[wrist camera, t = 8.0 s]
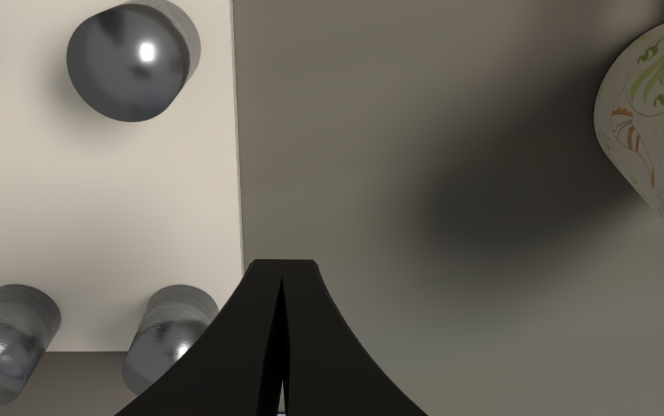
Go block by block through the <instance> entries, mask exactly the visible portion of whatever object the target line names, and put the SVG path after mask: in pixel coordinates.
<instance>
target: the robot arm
mask: <svg viewBox="0 0 664 416" xmlns="http://www.w3.org/2000/svg"><path fill="white" fill-rule="evenodd" d="M282 380H283V389H284V403H285V414H278V408H279V401H280V394H281V387H282ZM114 416H428V415H427V414H426V413H425V412H424V411H422V410H421V409H420V408H419V407H418V406H417V405H416V404H415V403H414V402H413V401H411V400H410V399H409V398H408V397H407V396H406V395H405V394H404V393H403V392H402V391H401V390H400V389H399V388H398V387H397V386H396V385H395V384H394V383H393V382H392V381H391V379H390V378H389V377H388V376H387V375H386V374H385V373H384V372H383V371H382V369H381V368H380V367H379V366H378V365H377V364H376V363H375V361H374V360H373V359H372V358H371V356H370V355H369V354H368V353H367V351H366V350H365V349H364V347H363V346H362V345H361V343H360V342H359V340H358V339H357V338H356V336H355V335H354V333H353V332H352V331H351V329H350V328H349V326H348V325H347V323H346V321H345V320H344V318H343V317H342V315H341V313H340V312H339V310H338V308H337V307H336V305H335V303H334V301H333V299H332V298H331V296H330V294H329V292H328V290H327V288H326V286H325V284H324V281H323V279H322V277H321V274H320V271H319V268H318V264H317V263H316V262H315V261H314V260H285V259H255V260H254V261H253V262H252V263H250V265H249V267H248V269H247V271H246V273H245V274H244V276H243V278H242V279H241V281H240V283H239V284H238V286H237V287H236V289H235V290H234V292H233V294H232V295H231V296H230V298H229V299H228V301H227V302H226V303H225V305H224V306H223V307H222V309H221V310H220V312H219V313H218V314H217V316H216V317H215V318H214V320H213V321H212V322H211V323H210V324H209V326H208V327H207V328H206V329H205V330H204V332H203V333H202V334H201V335H200V336H199V338H198V339H197V340H196V341H195V342H194V343H193V345H192V346H191V347H190V348H189V349H188V350H187V351H186V352H185V353H184V354H183V355H182V356H181V357H180V358H179V359H178V360H177V361H176V362H175V363H174V364H173V365H172V366H171V367H170V368H169V369H168V370H167V371H166V372H165V373H164V374H163V375H162V376H161V377H160V378H159V379H158V380H156V381H155V382H154V383H153V384H152V385H151V386H150V387H148V388H147V389H146V390H145V391H144V392H143V393H142V394H140V395H139V396H138V397H137V398H136V399H135V400H133V401H132V402H131V403H130V404H128V405H127V406H126V407H125V408H123V409H122V410H121V411H120V412H118V413H117V414H115V415H114Z"/></svg>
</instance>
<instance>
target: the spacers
mask: <svg viewBox="0 0 664 416" xmlns="http://www.w3.org/2000/svg"><path fill="white" fill-rule="evenodd" d="M200 56H201V43H200V38H199V34H198V32H197V29H196V27H195V25H194V23H193V22H192V20H191V19H190V17H189V16H188V15H187V14H186V13H185V12H184V11H183V10H182V9H181V8H180V7H178V6H177V5H175V4H174V3H172V2H170V1H168V0H129V1H127V2H124V3H122V4H119V5H117V6H115V7H112V8H110V9H107V10H105V11H103V12H100V13H98V14H95V15H93V16H91V17H89V18H87V19H86V20H85V21H83V22H82V23H81V24H80V25H79V26H78V27H77V28H76V30H75V31H74V32H73V34H72V36H71V38H70V40H69V43H68V47H67V53H66V63H67V69H68V73H69V77H70V79H71V82H72V84H73V86H74V88H75V89H76V91H77V92H78V94H79V95H80V97H81V98H82V99H83V100H84V101H85V102H86V103H87V104H88V105H89V106H90V107H92V108H93V109H94V110H95V111H97V112H99V113H100V114H102V115H104V116H106V117H108V118H111V119H114V120H117V121H122V122H141V121H146V120H149V119H152V118H154V117H156V116H158V115H159V114H161V113H163V112H164V111H165V110H166V109H167V108H168V107H169V106H170V104H171V103H172V102H173V101H174V99H175V98H176V96H177V95H178V94H179V92H180V91H181V90H182V88H183V87H184V86H185V84H186V83H187V82H188V80H189V79H190V78H191V76H192V75H193V74H194V72H195V70H196V69H197V66H198V64H199V61H200ZM218 313H219V309H218V306H217V304H216V302H215V301H214V299H213V298H212V297H211V296H210V295H209V294H208V293H206V292H205V291H203V290H201V289H199V288H197V287H194V286H190V285H183V284H178V285H170V286H167V287H164V288H162V289H160V290H158V291H157V292H156V293H155V294H154V295H153V296H152V297H151V298H150V300H149V302H148V304H147V307H146V309H145V312H144V314H143V317H142V319H141V321H140V324H139V326H138V329H137V331H136V334H135V336H134V338H133V341H132V343H131V346H130V348H129V351H128V353H127V355H126V358H125V360H124V363H123V367H122V375H123V378H124V381H125V383H126V384H127V386H128V387H129V388H130V390H131V391H132V392H134V393H135V394H136V395H138V396H139V395H140V394H142V393H143V392H144V391H145V390H146V389H147V388H148V387H150V386H151V385H152V384H153V383H154V382H155V381H156V380H158V379H159V378H160V377H161V376H162V375H163V374H164V373H165V372H166V371H167V370H168V369H169V368H170V367H171V366H172V365H173V364H174V363H175V362H176V361H177V360H178V359H179V358H180V357H181V356H182V355H183V354H184V353H185V352H186V351H187V350H188V349H189V348H190V347H191V346H192V345H193V343H194V342H195V341H196V340H197V339H198V338H199V336H200V335H201V334H202V333H203V332H204V330H205V329H206V328H207V327H208V326H209V324H210V323H211V322H212V321H213V320H214V318H215V317H216V316H217V314H218ZM60 325H61V313H60V310H59V308H58V306H57V305H56V303H55V302H54V301H53V300H52V299H51V298H50V297H49V296H48V295H47V294H45V293H44V292H42V291H41V290H39V289H36V288H34V287H31V286H27V285H22V284H8V285H4V286H1V287H0V405H3V404H6V403H8V402H10V401H12V400H14V399H15V398H16V397H17V396H18V395H19V394H20V392H21V391H22V389H23V387H24V386H25V384H26V382H27V381H28V379H29V377H30V376H31V374H32V372H33V371H34V369H35V368H36V366H37V364H38V363H39V361H40V359H41V358H42V356H43V354H44V353H45V351H46V349H47V348H48V346H49V344H50V343H51V341H52V340H53V338H54V336H55V335H56V333H57V331H58V330H59V328H60Z"/></svg>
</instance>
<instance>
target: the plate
mask: <svg viewBox="0 0 664 416" xmlns="http://www.w3.org/2000/svg"><path fill="white" fill-rule="evenodd" d="M127 1H129V0H0V287H1V286H4V285H8V284H22V285H27V286H31V287H34V288H36V289H39V290H41V291H42V292H44V293H45V294H47V295H48V296H49V297H50V298H51V299H52V300H53V301H54V302H55V303H56V305H57V306H58V308H59V310H60V313H61V325H60V328H59V330H58V331H57V333H56V335H55V336H54V338H53V340H52V341H51V343H50V344H49V346H48V348H47V349H46V351H45V352H47V351H129V348H130V346H131V343H132V341H133V338H134V336H135V334H136V331H137V329H138V326H139V324H140V321H141V319H142V317H143V314H144V312H145V309H146V307H147V304H148V302H149V300H150V298H151V297H152V296H153V295H154V294H155V293H156V292H157V291H158V290H160V289H162V288H164V287H167V286H170V285H178V284H183V285H190V286H194V287H197V288H199V289H201V290H203V291H205V292H206V293H208V294H209V295H210V296H211V297H212V298H213V299H214V301H215V302H216V304H217V306H218V309H219V312H220V310H221V309H222V307H223V306H224V305H225V303H226V302H227V301H228V299H229V298H230V296H231V295H232V294H233V292H234V290H235V289H236V287H237V286H238V284H239V283H240V281H241V279H242V278H243V276H244V262H243V239H242V215H241V192H240V169H239V145H238V122H237V98H236V75H235V51H234V28H233V4H232V0H168V1H170V2H172V3H174V4H175V5H177V6H178V7H180V8H181V9H182V10H183V11H184V12H185V13H186V14H187V15H188V16H189V17H190V19H191V20H192V22H193V23H194V25H195V27H196V29H197V32H198V34H199V38H200V43H201V56H200V61H199V64H198V66H197V69H196V70H195V72H194V74H193V75H192V76H191V78H190V79H189V80H188V82H187V83H186V84H185V86H184V87H183V88H182V90H181V91H180V92H179V94H178V95H177V96H176V98H175V99H174V101H173V102H172V103H171V104H170V106H169V107H168V108H167V109H166V110H165V111H164V112H163V113H161V114H159V115H158V116H156V117H154V118H152V119H149V120H146V121H141V122H122V121H117V120H114V119H111V118H108V117H106V116H104V115H102V114H100V113H99V112H97V111H95V110H94V109H93V108H92V107H90V106H89V105H88V104H87V103H86V102H85V101H84V100H83V99H82V98H81V97H80V95H79V94H78V92H77V91H76V89H75V88H74V86H73V84H72V82H71V79H70V77H69V73H68V69H67V63H66V53H67V47H68V43H69V40H70V38H71V36H72V34H73V32H74V31H75V30H76V28H77V27H78V26H79V25H80V24H81V23H82V22H83V21H85V20H86V19H87V18H89V17H91V16H93V15H95V14H98V13H100V12H103V11H105V10H107V9H110V8H112V7H115V6H117V5H119V4H122V3H124V2H127Z"/></svg>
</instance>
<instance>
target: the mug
mask: <svg viewBox="0 0 664 416" xmlns="http://www.w3.org/2000/svg"><path fill="white" fill-rule="evenodd" d="M594 127H595V132H596V136H597V139H598V141H599V144H600V146H601V148H602V149H603V151H604V153H605V154H606V155H607V157H608V158H609V159H610V160H611V162H612V163H613V164H614V165H615V166H616V168H617V169H618V170H619V171H620V172H621V173H622V175H623V176H624V177H625V178H626V179H627V180H628V182H629V183H630V184H631V185H632V186H633V187H634V189H635V190H636V191H637V192H638V193H639V194H640V196H641V197H642V198H643V199H644V200H645V201H646V203H647V204H648V205H649V206H650V207H651V208H652V210H653V211H654V212H655V213H656V214H657V215H658V217H659V218H660V219H661V220H662V221H663V222H664V24H661V25H659V26H657V27H655V28H653V29H651V30H650V31H648V32H646V33H645V34H643V35H642V36H640V37H639V38H638V39H636V40H635V41H634V42H633V43H631V44H630V45H629V46H628V47H627V48H626V49H625V50H624V51H623V52H622V53H621V54H620V55H619V57H618V58H617V59H616V60H615V62H614V63H613V64H612V66H611V67H610V69H609V70H608V72H607V74H606V75H605V77H604V79H603V81H602V84H601V86H600V88H599V91H598V94H597V98H596V102H595V108H594Z"/></svg>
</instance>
